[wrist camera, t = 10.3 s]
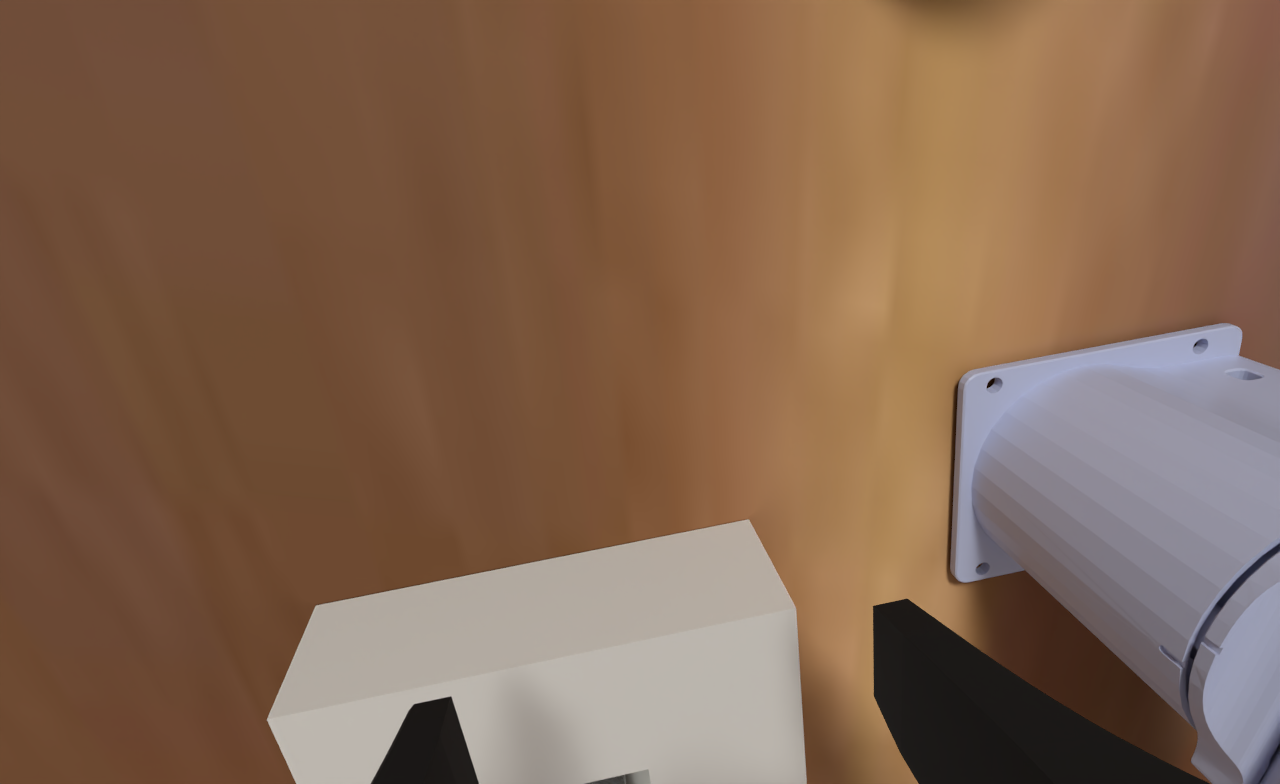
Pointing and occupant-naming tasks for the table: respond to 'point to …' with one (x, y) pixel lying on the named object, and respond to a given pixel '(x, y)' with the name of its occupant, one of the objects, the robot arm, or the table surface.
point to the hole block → (565, 669)
